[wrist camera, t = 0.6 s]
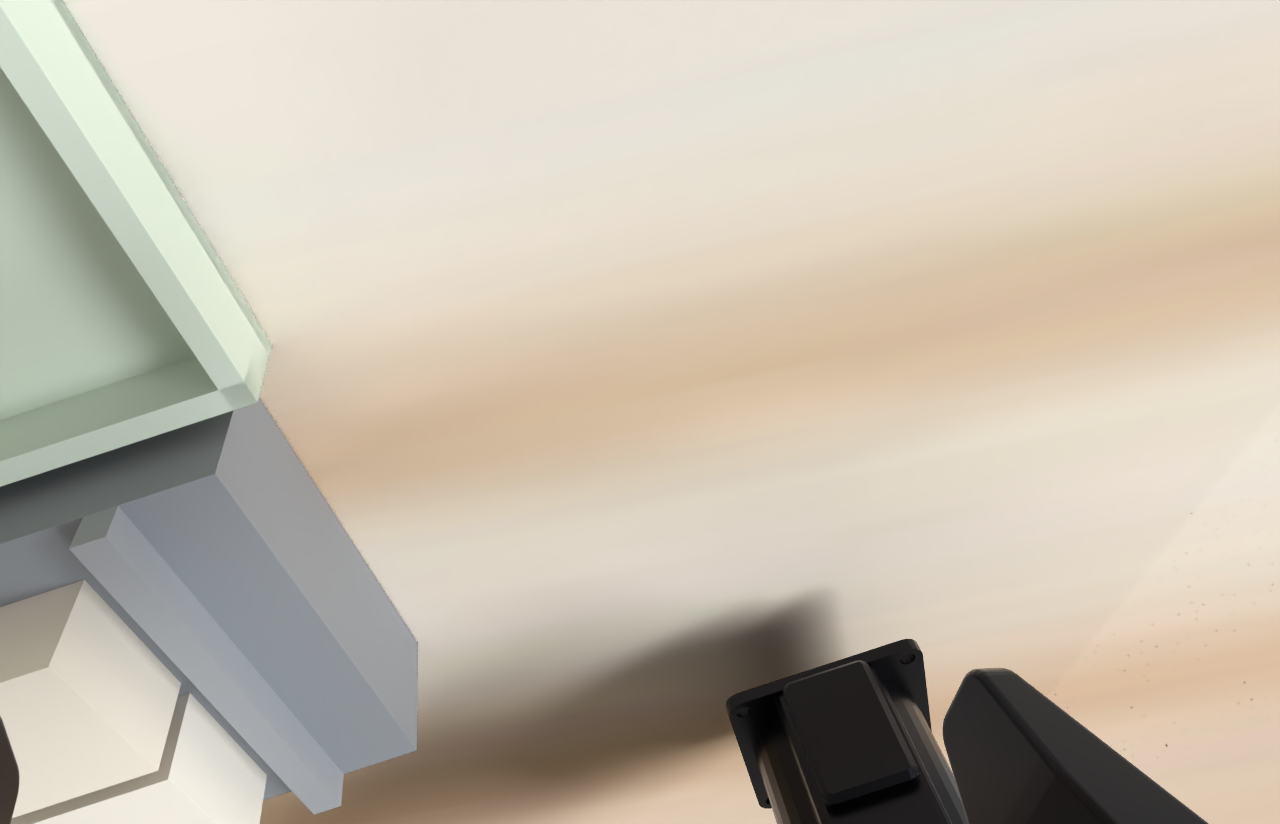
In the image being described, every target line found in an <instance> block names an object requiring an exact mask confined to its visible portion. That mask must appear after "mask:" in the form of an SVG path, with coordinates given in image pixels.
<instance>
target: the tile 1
mask: <svg viewBox="0 0 1280 824" xmlns="http://www.w3.org/2000/svg"><path fill="white" fill-rule="evenodd" d="M180 686H181V683H180V682H179V680H178V679H177V678H176V677H175V676H174V675H173V674H172V673H171V672H170V671H169V670H168V669H167V668H166V667H165V666H164V664H163V663H162V662H161V661H160V660H159V659H158V658H157V657H156V656H155V655H154V654H153V653H152V652H151V651H150V649H149V648H148V647H147V646H146V645H145V644H144V643H143V642H142V641H141V640H140V639H139V638H138V637H137V636H136V634H135V633H134V632H133V631H132V630H131V629H130V628H129V627H128V626H127V625H126V624H125V623H124V622H123V621H122V619H121V618H120V617H119V616H118V615H117V614H116V613H115V612H114V611H113V610H112V609H111V608H110V607H109V606H108V605H107V603H106V602H105V601H104V600H103V599H102V598H101V597H100V596H99V595H98V594H97V593H96V592H95V591H94V590H93V588H92V587H91V586H90V585H89V584H88V583H87V582H86V581H85V580H82V581H79V582H76V583H73V584H70V585H67V586H64V587H61V588H57V589H54V590H51V591H48V592H45V593H42V594H39V595H36V596H33V597H30V598H27V599H24V600H21V601H18V602H15V603H12V604H9V605H5V606H2V607H0V716H1V718H2V720H3V723H4V726H5V729H6V732H7V735H8V738H9V741H10V744H11V747H12V750H13V753H14V756H15V759H16V762H17V765H18V769H19V777H20V779H19V791H18V796H17V801H16V804H15V808H14V812H13V816H12V818H14V817H17V816H21V815H24V814H27V813H30V812H33V811H36V810H39V809H42V808H45V807H48V806H51V805H54V804H57V803H60V802H63V801H67V800H70V799H73V798H76V797H79V796H82V795H85V794H88V793H91V792H94V791H97V790H100V789H103V788H106V787H109V786H113V785H116V784H119V783H122V782H125V781H128V780H131V779H134V778H137V777H140V776H143V775H146V774H149V773H152V772H155V771H158V769H159V766H160V762H161V758H162V754H163V750H164V747H165V743H166V739H167V735H168V731H169V728H170V724H171V720H172V716H173V712H174V709H175V705H176V701H177V697H178V693H179V689H180Z"/></svg>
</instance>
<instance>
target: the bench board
mask: <svg viewBox="0 0 1280 824" xmlns="http://www.w3.org/2000/svg"><path fill="white" fill-rule="evenodd" d="M82 580H85V581H86V582H87V583H88V584H89V585H90V586H91V587H92V588H93V590H94V591H95V592H96V593H97V594H98V595H99V596H100V597H101V598H102V599H103V600H104V601H105V602H106V603H107V605H108V606H109V607H110V608H111V609H112V610H113V611H114V612H115V613H116V614H117V615H118V616H119V617H120V618H121V619H122V621H123V622H124V623H125V624H126V625H127V626H128V627H129V628H130V629H131V630H132V631H133V632H134V633H135V634H136V636H137V637H138V638H139V639H140V640H141V641H142V642H143V643H144V644H145V645H146V646H147V647H148V648H149V649H150V651H151V652H152V653H153V654H154V655H155V656H156V657H157V658H158V659H159V660H160V661H161V662H162V663H163V664H164V666H165V667H166V668H167V669H168V670H169V671H170V672H171V673H172V674H173V675H174V676H175V677H176V678H177V679H178V680H179V682H180V683H181V686H180V689H179V693H178V696H181V695H184V694H187V693H191V694H192V695H193V697H194V698H195V699H196V700H197V701H198V702H199V703H200V704H201V705H202V706H203V707H204V708H205V709H206V710H207V712H208V713H209V714H210V715H211V716H212V717H213V718H214V719H215V720H216V721H217V722H218V723H219V724H220V725H221V727H222V728H223V729H224V730H225V731H226V732H227V733H228V734H229V735H230V736H231V737H232V738H233V739H234V740H235V742H236V743H237V744H238V745H239V746H240V747H241V748H242V749H243V750H244V751H245V752H246V753H247V754H248V755H249V756H250V758H251V759H252V760H253V761H254V762H255V763H256V764H257V765H258V766H259V767H260V768H261V769H262V770H263V771H264V773H265V774H266V775H267V779H266V785H265V791H264V798H263V800H266V799H269V798H272V797H275V796H278V795H281V794H284V793H288V792H291V791H292V792H293V793H294V794H295V795H296V796H297V797H298V798H299V799H300V800H301V801H302V802H303V804H304V805H305V806H306V807H307V808H308V809H309V810H310V811H311V812H312V813H313V814H314V815H315V814H318V813H321V812H324V811H327V810H330V809H333V808H336V807H339V806H341V803H342V790H343V778H344V774H346V773H349V772H352V771H355V770H358V769H361V768H364V767H367V766H370V765H373V764H377V763H380V762H383V761H386V760H389V759H392V758H395V757H398V756H401V755H404V754H407V753H410V752H413V751H416V750H417V675H418V642H417V641H416V639H415V638H414V636H413V635H412V633H411V632H410V630H409V628H408V627H407V625H406V624H405V622H404V621H403V619H402V618H401V616H400V615H399V613H398V611H397V610H396V608H395V607H394V605H393V604H392V602H391V601H390V599H389V597H388V596H387V594H386V593H385V591H384V590H383V588H382V587H381V585H380V583H379V582H378V580H377V579H376V577H375V576H374V574H373V573H372V571H371V570H370V568H369V566H368V565H367V563H366V562H365V560H364V559H363V557H362V556H361V554H360V552H359V551H358V549H357V548H356V546H355V545H354V543H353V542H352V540H351V539H350V537H349V535H348V534H347V532H346V531H345V529H344V528H343V526H342V525H341V523H340V521H339V520H338V518H337V517H336V515H335V514H334V512H333V511H332V509H331V508H330V506H329V504H328V503H327V501H326V500H325V498H324V497H323V495H322V494H321V492H320V490H319V489H318V487H317V486H316V484H315V483H314V481H313V480H312V478H311V477H310V475H309V473H308V472H307V470H306V469H305V467H304V466H303V464H302V463H301V461H300V459H299V458H298V456H297V455H296V453H295V452H294V450H293V449H292V447H291V446H290V444H289V442H288V441H287V439H286V438H285V436H284V435H283V433H282V432H281V430H280V428H279V427H278V425H277V424H276V422H275V421H274V419H273V418H272V416H271V415H270V413H269V411H268V410H267V408H266V407H265V405H264V404H263V402H262V401H261V399H260V397H259V399H258V402H257V403H254V404H251V405H248V406H245V407H242V408H239V409H236V410H233V411H230V412H227V413H224V414H221V415H218V416H215V417H211V418H208V419H205V420H202V421H199V422H196V423H193V424H190V425H187V426H184V427H181V428H178V429H175V430H172V431H169V432H166V433H163V434H160V435H157V436H153V437H150V438H147V439H144V440H141V441H138V442H135V443H132V444H129V445H126V446H123V447H120V448H117V449H114V450H111V451H108V452H105V453H102V454H99V455H96V456H92V457H89V458H86V459H83V460H80V461H77V462H74V463H71V464H68V465H65V466H62V467H59V468H56V469H53V470H50V471H47V472H44V473H41V474H38V475H34V476H31V477H28V478H25V479H22V480H19V481H16V482H13V483H10V484H7V485H4V486H1V487H0V607H2V606H5V605H9V604H12V603H15V602H18V601H21V600H24V599H27V598H30V597H33V596H36V595H39V594H42V593H45V592H48V591H51V590H54V589H57V588H61V587H64V586H67V585H70V584H73V583H76V582H79V581H82Z"/></svg>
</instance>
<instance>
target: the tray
mask: <svg viewBox="0 0 1280 824" xmlns="http://www.w3.org/2000/svg"><path fill="white" fill-rule="evenodd" d="M271 349H272V344H271V342H270V340H269V339H268V337H267V336H266V334H265V332H264V331H263V329H262V327H261V326H260V324H259V322H258V321H257V319H256V317H255V316H254V314H253V312H252V311H251V309H250V308H249V306H248V304H247V303H246V301H245V299H244V298H243V296H242V294H241V293H240V291H239V289H238V288H237V286H236V285H235V283H234V281H233V280H232V278H231V276H230V275H229V273H228V271H227V270H226V268H225V266H224V265H223V263H222V261H221V260H220V258H219V257H218V255H217V253H216V252H215V250H214V248H213V247H212V245H211V243H210V242H209V240H208V238H207V237H206V235H205V234H204V232H203V230H202V229H201V227H200V225H199V224H198V222H197V220H196V219H195V217H194V215H193V214H192V212H191V210H190V209H189V207H188V206H187V204H186V202H185V201H184V199H183V197H182V196H181V194H180V192H179V191H178V189H177V187H176V186H175V184H174V183H173V181H172V179H171V178H170V176H169V174H168V173H167V171H166V169H165V168H164V166H163V164H162V163H161V161H160V159H159V158H158V156H157V155H156V153H155V151H154V150H153V148H152V146H151V145H150V143H149V141H148V140H147V138H146V136H145V135H144V133H143V131H142V130H141V128H140V127H139V125H138V123H137V122H136V120H135V118H134V117H133V115H132V113H131V112H130V110H129V108H128V107H127V105H126V104H125V102H124V100H123V99H122V97H121V95H120V94H119V92H118V90H117V89H116V87H115V85H114V84H113V82H112V80H111V79H110V77H109V76H108V74H107V72H106V71H105V69H104V67H103V66H102V64H101V62H100V61H99V59H98V57H97V56H96V54H95V53H94V51H93V49H92V48H91V46H90V44H89V43H88V41H87V39H86V38H85V36H84V34H83V33H82V31H81V29H80V28H79V26H78V25H77V23H76V21H75V20H74V18H73V16H72V15H71V13H70V11H69V10H68V8H67V6H66V5H65V3H64V2H63V0H0V487H1V486H4V485H7V484H10V483H13V482H16V481H19V480H22V479H25V478H28V477H31V476H34V475H38V474H41V473H44V472H47V471H50V470H53V469H56V468H59V467H62V466H65V465H68V464H71V463H74V462H77V461H80V460H83V459H86V458H89V457H92V456H96V455H99V454H102V453H105V452H108V451H111V450H114V449H117V448H120V447H123V446H126V445H129V444H132V443H135V442H138V441H141V440H144V439H147V438H150V437H153V436H157V435H160V434H163V433H166V432H169V431H172V430H175V429H178V428H181V427H184V426H187V425H190V424H193V423H196V422H199V421H202V420H205V419H208V418H211V417H215V416H218V415H221V414H224V413H227V412H230V411H233V410H236V409H239V408H242V407H245V406H248V405H251V404H254V403H257V402H258V399H259V395H260V391H261V388H262V384H263V380H264V376H265V372H266V368H267V364H268V361H269V357H270V353H271Z"/></svg>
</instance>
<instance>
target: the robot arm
mask: <svg viewBox="0 0 1280 824" xmlns="http://www.w3.org/2000/svg"><path fill="white" fill-rule="evenodd" d="M726 708H727V712H728V715H729V718H730V721H731V724H732V727H733V730H734V733H735V735H736V738H737V741H738V744H739V747H740V750H741V753H742V756H743V759H744V762H745V765H746V767H747V770H748V773H749V776H750V779H751V782H752V785H753V788H754V791H755V794H756V797H757V799H758V802H759V805H760V806H761V807H763V808H772V809H773V812H774V815H775V818H776V822H777V824H1208V823H1207V822H1206V821H1204V820H1203V819H1202V818H1201V817H1199V816H1198V815H1197V814H1195V813H1194V812H1193V811H1192V810H1190V809H1189V808H1188V807H1186V806H1185V805H1184V804H1183V803H1181V802H1180V801H1179V800H1177V799H1176V798H1175V797H1174V796H1172V795H1171V794H1170V793H1168V792H1167V791H1166V790H1165V789H1163V788H1162V787H1161V786H1160V785H1158V784H1157V783H1156V782H1154V781H1153V780H1152V779H1151V778H1149V777H1148V776H1147V775H1145V774H1144V773H1143V772H1142V771H1140V770H1139V769H1138V768H1136V767H1135V766H1134V765H1133V764H1131V763H1130V762H1129V761H1127V760H1126V759H1125V758H1124V757H1122V756H1121V755H1120V754H1118V753H1117V752H1116V751H1115V750H1113V749H1112V748H1111V747H1110V746H1108V745H1107V744H1106V743H1104V742H1103V741H1102V740H1101V739H1099V738H1098V737H1097V736H1095V735H1094V734H1093V733H1092V732H1090V731H1089V730H1088V729H1086V728H1085V727H1084V726H1083V725H1081V724H1080V723H1079V722H1077V721H1076V720H1075V719H1074V718H1072V717H1071V716H1070V715H1068V714H1067V713H1066V712H1065V711H1063V710H1062V709H1061V708H1060V707H1058V706H1057V705H1056V704H1054V703H1053V702H1052V701H1051V700H1049V699H1048V698H1047V697H1045V696H1044V695H1043V694H1042V693H1040V692H1039V691H1038V690H1036V689H1035V688H1034V687H1033V686H1031V685H1030V684H1029V683H1027V682H1026V681H1025V680H1024V679H1022V678H1021V677H1020V676H1019V675H1017V674H1016V673H1014V672H1013V671H1011V670H1008V669H1005V668H986V669H974V670H971V671H970V672H968V673H967V674H966V676H965V677H964V679H963V681H962V683H961V685H960V687H959V689H958V691H957V693H956V695H955V697H954V699H953V701H952V703H951V705H950V707H949V709H948V711H947V713H946V715H945V718H944V722H943V739H944V744H945V747H946V751H947V754H948V757H949V761H950V764H951V768H952V771H953V773H952V771H951V769H950V767H949V765H948V763H947V761H946V759H945V757H944V755H943V753H942V751H941V749H940V747H939V746H938V744H937V742H936V740H935V738H934V736H933V734H932V731H931V722H930V713H929V705H928V696H927V687H926V679H925V670H924V661H923V654H922V652H921V650H920V648H919V646H918V644H917V643H916V641H914V640H913V639H904V640H900V641H897V642H894V643H891V644H888V645H885V646H881V647H878V648H875V649H872V650H869V651H866V652H863V653H860V654H857V655H854V656H851V657H848V658H845V659H842V660H838V661H835V662H832V663H829V664H826V665H823V666H820V667H817V668H814V669H811V670H808V671H805V672H802V673H799V674H795V675H792V676H789V677H786V678H783V679H780V680H777V681H774V682H771V683H768V684H765V685H762V686H759V687H755V688H752V689H749V690H746V691H743V692H740V693H737V694H735V695H733V696H732V697H730V698H729V699H728V701H727V702H726ZM953 774H954V775H953ZM19 779H20V777H19V769H18V765H17V762H16V759H15V756H14V753H13V750H12V747H11V744H10V741H9V738H8V735H7V732H6V729H5V726H4V723H3V720H2V718H1V716H0V824H10V823H11V820H12V816H13V812H14V808H15V804H16V801H17V796H18V791H19Z"/></svg>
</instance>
